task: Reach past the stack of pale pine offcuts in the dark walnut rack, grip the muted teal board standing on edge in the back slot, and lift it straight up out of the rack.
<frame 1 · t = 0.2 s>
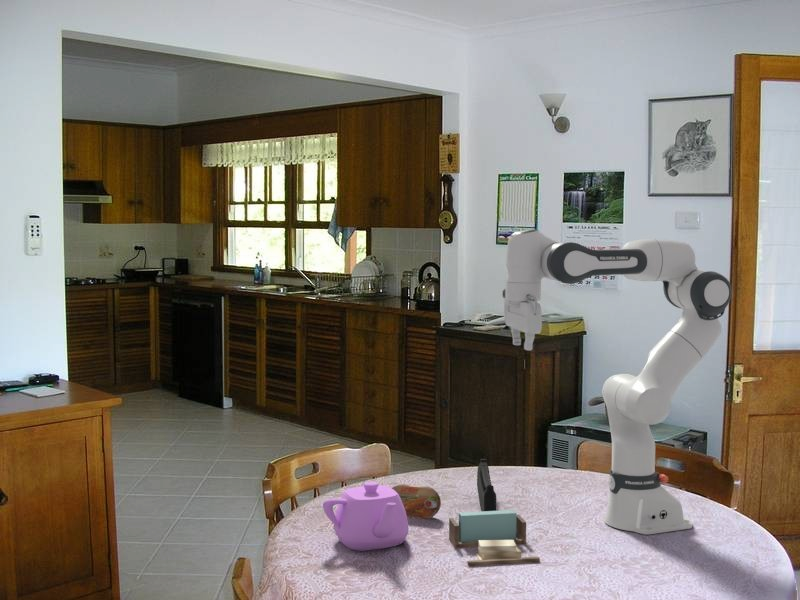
hand: (522, 347, 226), 48 cm above the table, tool pointing down, fingers open, 8 cm apart
tin: (413, 516, 240), on the table
offcut top: (497, 549, 209), point 2 cm above the table, touching offcut middle
rack: (492, 551, 214), on the table
offcut middle: (499, 555, 209), point 1 cm above the table, touching offcut bottom, offcut top
offcut bottom: (498, 562, 209), on the table, touching offcut middle
magazine: (485, 509, 246), on the table
board: (487, 544, 219), resting in rack
teapot: (372, 544, 219), on the table
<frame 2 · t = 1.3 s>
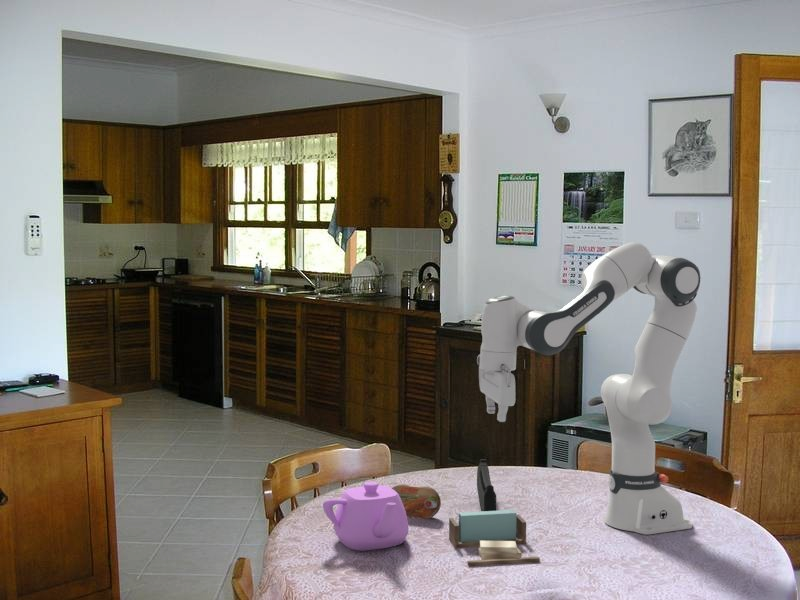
hand: (496, 417, 219), 31 cm above the table, tool pointing down, fingers open, 8 cm apart
nothing on the table moved.
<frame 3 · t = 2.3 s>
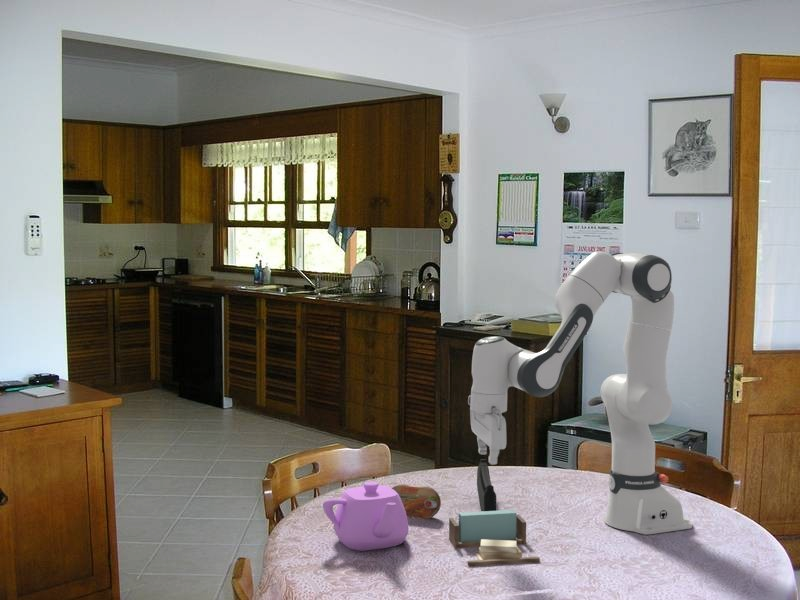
hand: (487, 458, 217), 21 cm above the table, tool pointing down, fingers open, 8 cm apart
offcut top: (498, 549, 209), point 2 cm above the table
offcut middle: (500, 556, 209), point 1 cm above the table
offcut bottom: (498, 562, 209), on the table
everything else where it was.
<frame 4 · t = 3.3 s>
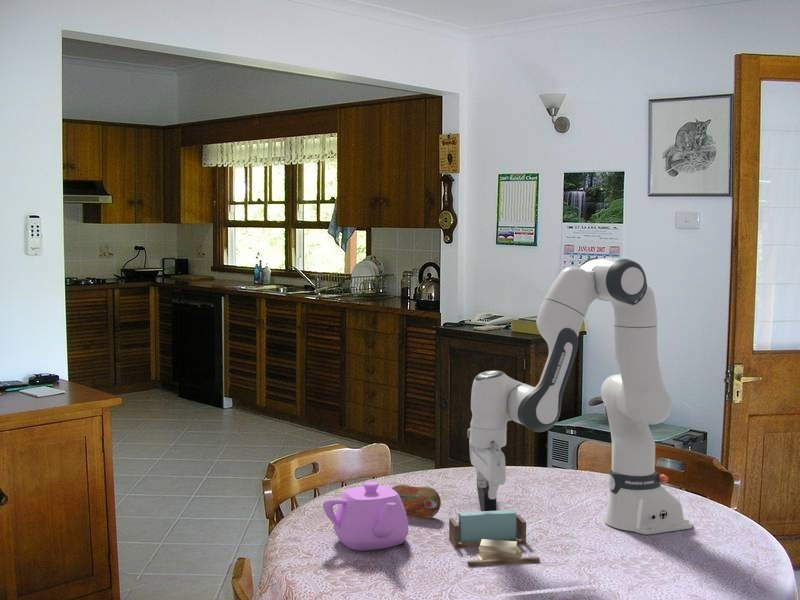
hand: (486, 492, 218), 13 cm above the table, tool pointing down, fingers open, 8 cm apart
offcut top: (498, 549, 209), point 2 cm above the table, touching offcut middle
offcut middle: (499, 555, 209), point 1 cm above the table, touching offcut bottom, offcut top
offcut bottom: (498, 562, 209), on the table, touching offcut middle
everything else where it was.
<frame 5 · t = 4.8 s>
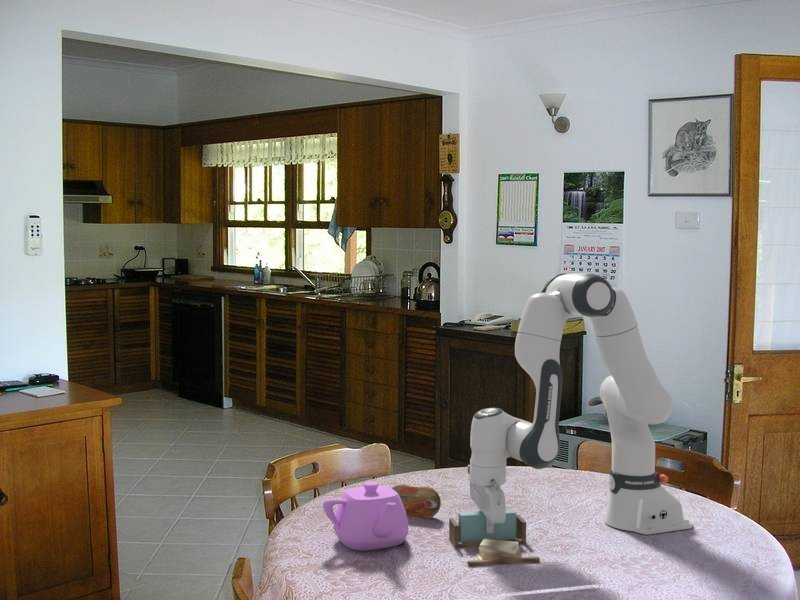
hand: (487, 529, 218), 4 cm above the table, tool pointing down, fingers closed on board, 2 cm apart
board: (487, 544, 219), resting in rack, touching gripper
everything else where it was.
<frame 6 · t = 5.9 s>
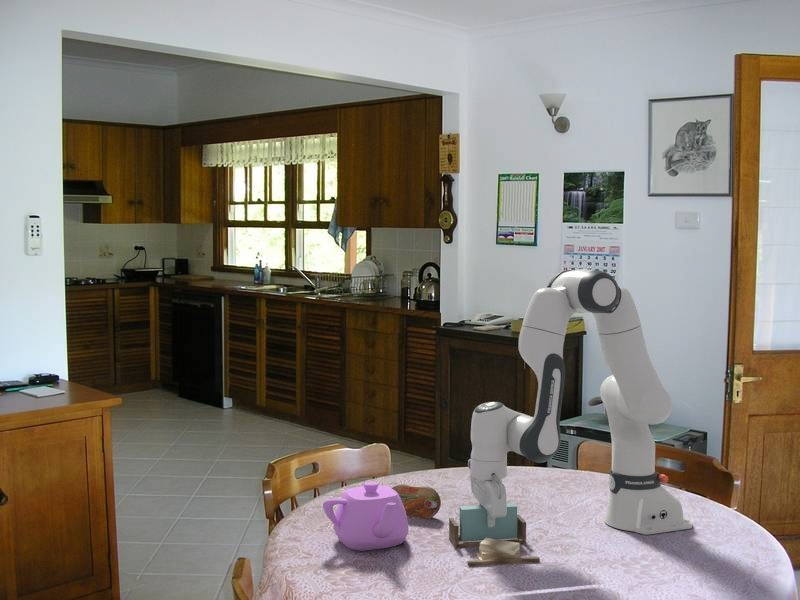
hand: (488, 523, 218), 5 cm above the table, tool pointing down, fingers closed on board, 2 cm apart
board: (488, 538, 219), point 1 cm above the table, touching gripper
everything else where it was.
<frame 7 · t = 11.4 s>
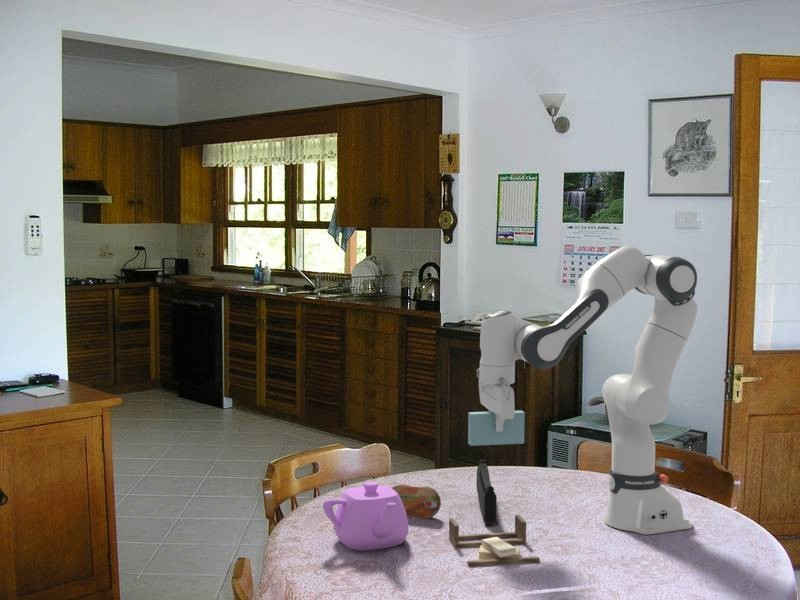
hand: (496, 429, 224), 27 cm above the table, tool pointing down, fingers closed on board, 2 cm apart
board: (496, 443, 224), point 23 cm above the table, touching gripper
at the end: the gripper is holding board; board point 23.4 cm above the table; offcut top moved 1.0 cm from its start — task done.
